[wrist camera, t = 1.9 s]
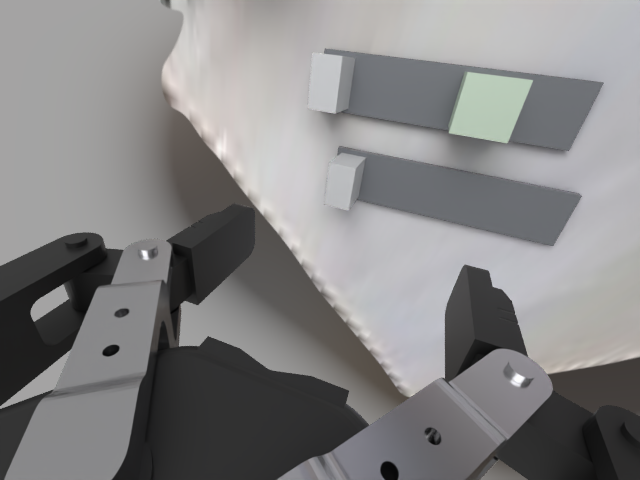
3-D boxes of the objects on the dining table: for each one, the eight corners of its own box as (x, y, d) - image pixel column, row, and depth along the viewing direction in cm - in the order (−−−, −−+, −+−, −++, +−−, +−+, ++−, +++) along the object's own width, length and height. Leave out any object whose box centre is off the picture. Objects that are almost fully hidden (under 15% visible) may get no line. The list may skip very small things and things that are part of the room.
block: (520, 78, 29) (533, 80, 25) (499, 133, 32) (507, 143, 28) (464, 71, 30) (467, 71, 26) (448, 125, 33) (448, 133, 29)
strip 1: (600, 82, 28) (632, 84, 23) (566, 149, 31) (588, 163, 26) (327, 49, 34) (307, 45, 29) (321, 107, 37) (302, 113, 32)
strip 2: (579, 193, 32) (602, 214, 28) (551, 242, 35) (567, 269, 31) (340, 146, 39) (325, 157, 34) (333, 191, 42) (319, 207, 37)
